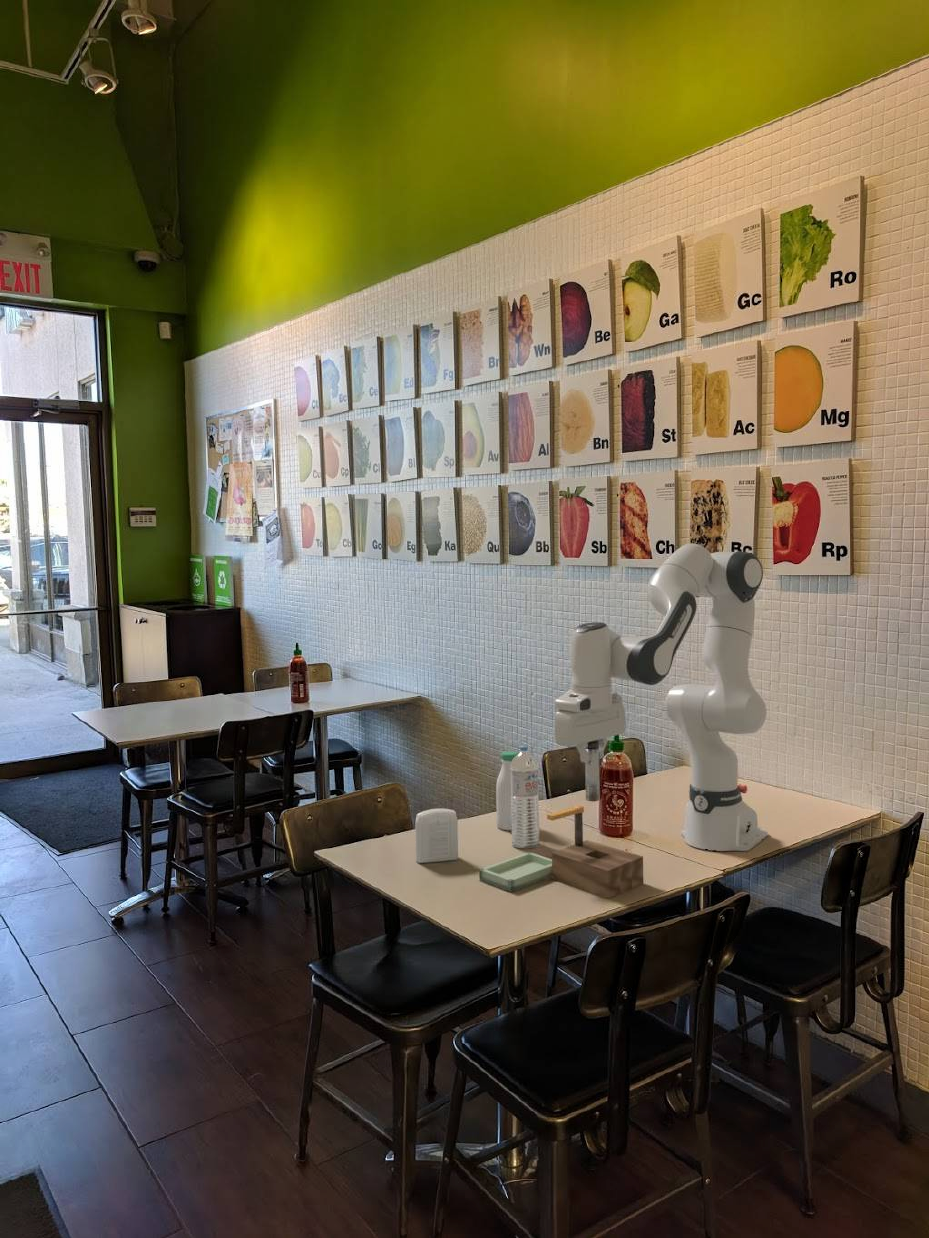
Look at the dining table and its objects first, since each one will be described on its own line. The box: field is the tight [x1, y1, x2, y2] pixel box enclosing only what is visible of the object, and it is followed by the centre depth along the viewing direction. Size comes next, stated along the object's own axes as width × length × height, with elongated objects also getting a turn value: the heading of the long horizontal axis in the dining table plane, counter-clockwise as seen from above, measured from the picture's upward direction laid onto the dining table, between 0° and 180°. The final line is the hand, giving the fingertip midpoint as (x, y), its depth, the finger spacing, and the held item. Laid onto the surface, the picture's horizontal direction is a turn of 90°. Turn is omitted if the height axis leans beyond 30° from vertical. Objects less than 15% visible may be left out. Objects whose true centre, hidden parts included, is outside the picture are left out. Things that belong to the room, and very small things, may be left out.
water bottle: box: [510, 745, 540, 850], centre depth 226 cm, size 7×7×25 cm
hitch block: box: [551, 813, 644, 899], centre depth 202 cm, size 12×16×14 cm
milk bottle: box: [495, 750, 520, 832], centre depth 241 cm, size 8×8×20 cm
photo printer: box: [414, 808, 459, 864], centre depth 218 cm, size 10×4×12 cm, turn 104°
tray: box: [478, 851, 552, 893], centre depth 206 cm, size 16×10×2 cm, turn 132°
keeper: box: [546, 805, 585, 821], centre depth 205 cm, size 10×2×1 cm, turn 128°
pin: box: [584, 740, 600, 802], centre depth 200 cm, size 3×3×13 cm
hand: (592, 760), depth 200 cm, fingers closed on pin, 3 cm apart
